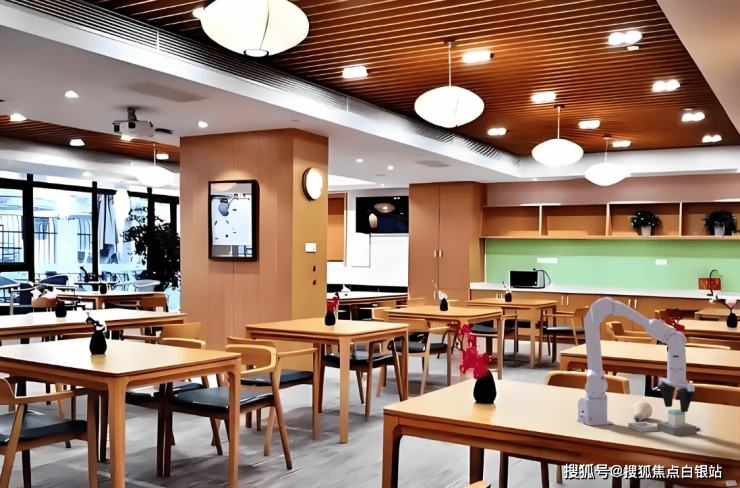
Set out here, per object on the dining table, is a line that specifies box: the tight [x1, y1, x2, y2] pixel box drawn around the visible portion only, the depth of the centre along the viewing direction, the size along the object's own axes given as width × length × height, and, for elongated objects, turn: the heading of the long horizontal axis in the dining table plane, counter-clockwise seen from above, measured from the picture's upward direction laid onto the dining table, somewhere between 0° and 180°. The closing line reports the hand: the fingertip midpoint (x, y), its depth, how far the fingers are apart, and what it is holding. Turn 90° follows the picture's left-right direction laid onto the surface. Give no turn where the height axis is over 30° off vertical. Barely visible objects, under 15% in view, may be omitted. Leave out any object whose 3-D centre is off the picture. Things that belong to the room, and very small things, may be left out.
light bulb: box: [632, 400, 653, 423], centre depth 246 cm, size 7×7×11 cm
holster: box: [627, 421, 659, 433], centre depth 232 cm, size 7×6×2 cm
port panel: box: [656, 421, 701, 436], centre depth 229 cm, size 14×8×2 cm, turn 105°
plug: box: [667, 409, 686, 426], centre depth 229 cm, size 4×3×7 cm
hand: (676, 409), depth 229 cm, fingers open, 7 cm apart
